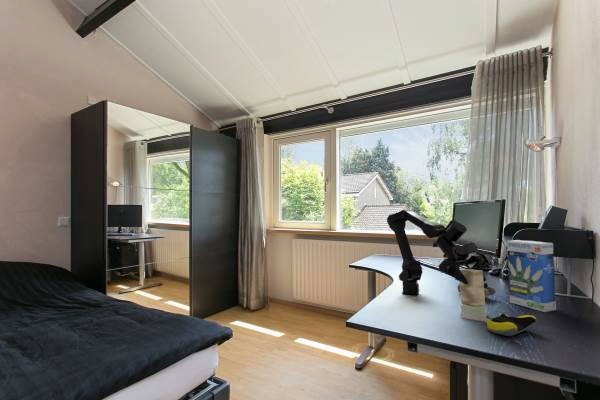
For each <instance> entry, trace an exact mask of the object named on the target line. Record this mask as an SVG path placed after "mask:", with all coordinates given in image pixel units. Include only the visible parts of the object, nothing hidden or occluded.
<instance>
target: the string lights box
mask: <svg viewBox="0 0 600 400" xmlns="http://www.w3.org/2000/svg"><path fill="white" fill-rule="evenodd" d="M506 242H507V243H506V246H507V262H508V263H507V266H508V288H509V289H508V290H509V292H508V293H509V303H511V304H513V305H514V304H515V305H517V306H521V307H525V308H529V309H532V310H536V311H539V312H543V313H548V312H552V311H556V310H557V305H556V304H557V302H556V286H555V284H556V283H555V282H556V279H555V263H554V259H555V258H554V257H555V256H554V243H553V242H544V241H535V240H520V239H515V240H514V239H512V240H507V241H506Z"/></svg>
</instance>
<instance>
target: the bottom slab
mask: <svg viewBox="0 0 600 400" xmlns="http://www.w3.org/2000/svg"><path fill="white" fill-rule="evenodd" d="M459 314H460V315H459V317H460V318H461V319H462V318H463V319H467V320H473V321H479V322H480V321H481V322H486V320H485V318H487V316H488V315H487V309H486V310H485V313H484V315H478V314H472V313H466V312H461V310H460V311H459Z"/></svg>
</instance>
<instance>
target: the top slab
mask: <svg viewBox="0 0 600 400" xmlns="http://www.w3.org/2000/svg"><path fill="white" fill-rule="evenodd" d="M485 310H486V311H487V308H486V303H485V304H483V305H478V306H473V305H469V304H465V303H461V304H460V311H461V312H466V313H472V314H478V315H484V313H485Z"/></svg>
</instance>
